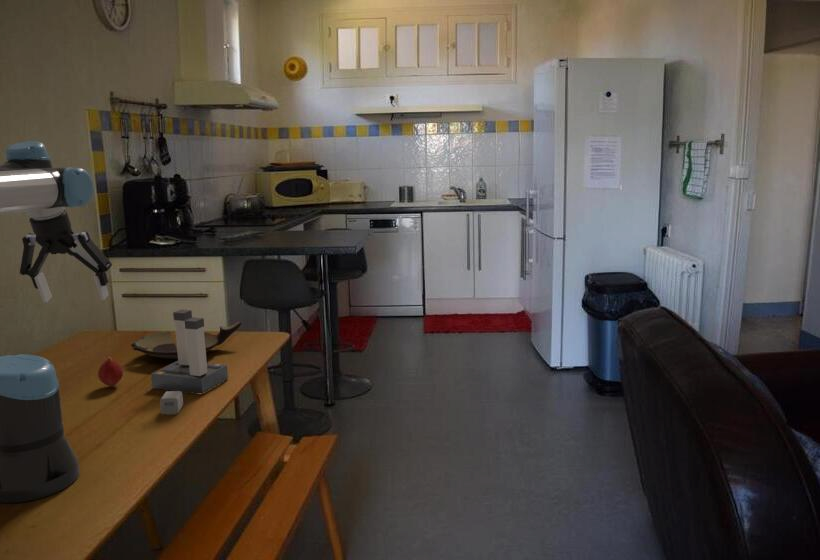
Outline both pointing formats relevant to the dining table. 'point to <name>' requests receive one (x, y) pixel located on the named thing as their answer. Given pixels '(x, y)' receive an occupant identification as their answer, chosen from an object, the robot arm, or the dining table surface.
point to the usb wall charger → (171, 402)
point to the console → (188, 378)
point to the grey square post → (196, 346)
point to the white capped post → (182, 335)
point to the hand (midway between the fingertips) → (76, 298)
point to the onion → (110, 372)
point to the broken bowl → (166, 347)
